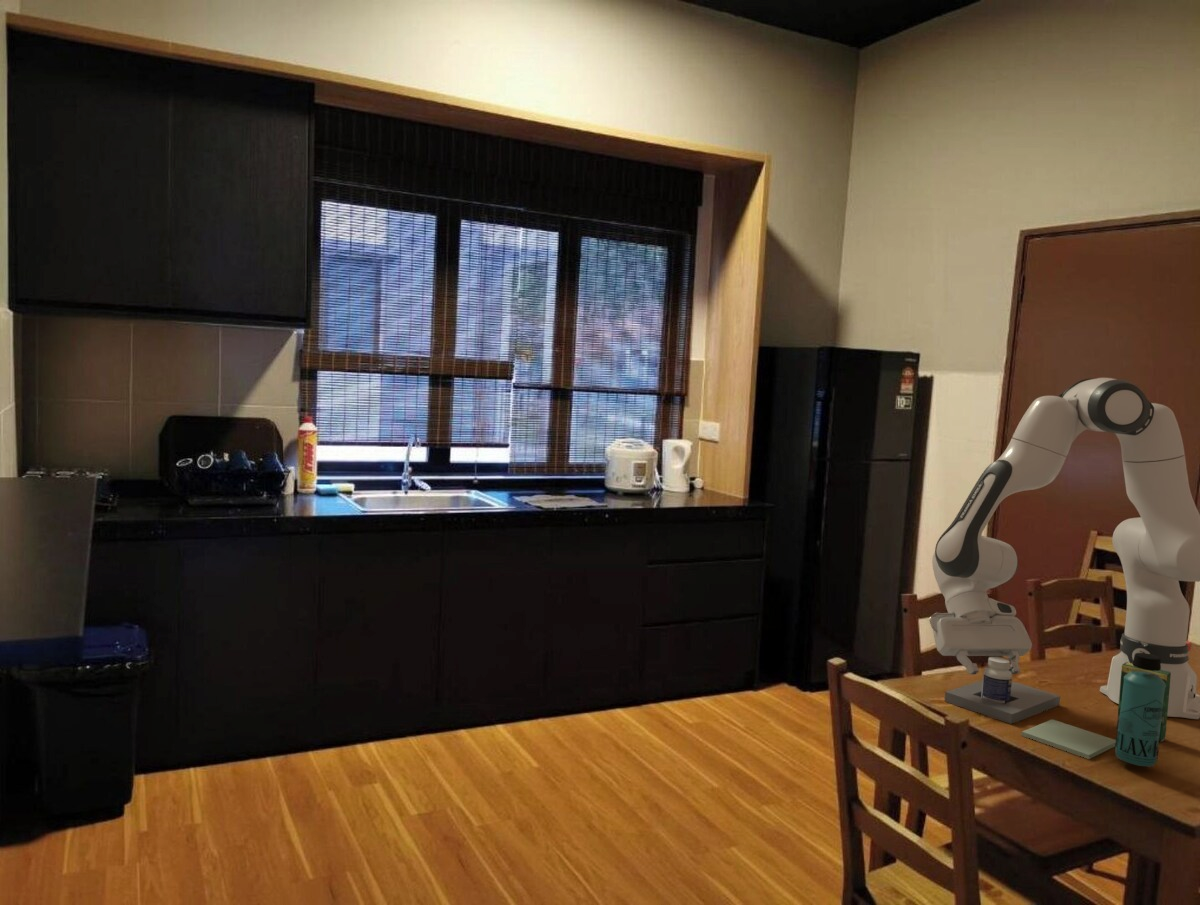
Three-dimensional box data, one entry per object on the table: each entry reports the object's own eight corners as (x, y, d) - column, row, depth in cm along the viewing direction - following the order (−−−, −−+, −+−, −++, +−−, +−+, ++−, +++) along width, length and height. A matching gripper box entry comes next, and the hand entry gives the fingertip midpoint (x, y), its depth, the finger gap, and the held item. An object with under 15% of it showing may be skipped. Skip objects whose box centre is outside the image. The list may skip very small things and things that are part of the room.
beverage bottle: (1104, 761, 157) (1116, 650, 155) (1130, 757, 159) (1142, 647, 158) (1139, 777, 151) (1152, 662, 149) (1165, 772, 153) (1178, 659, 152)
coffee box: (1113, 729, 173) (1120, 663, 172) (1118, 725, 175) (1125, 660, 174) (1161, 743, 167) (1168, 674, 166) (1165, 739, 169) (1173, 671, 168)
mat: (1051, 723, 174) (1052, 719, 174) (1117, 745, 165) (1117, 740, 165) (1021, 735, 167) (1021, 731, 167) (1088, 759, 157) (1089, 755, 157)
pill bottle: (1012, 712, 179) (1016, 665, 178) (983, 709, 180) (988, 662, 179) (1005, 703, 184) (1010, 657, 183) (978, 699, 185) (982, 654, 184)
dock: (994, 684, 196) (995, 675, 195) (1059, 705, 185) (1060, 695, 184) (944, 701, 183) (945, 691, 183) (1011, 724, 172) (1012, 714, 172)
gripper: (933, 605, 187) (955, 666, 178) (1021, 606, 190) (1047, 666, 182) (920, 620, 192) (941, 680, 183) (1006, 621, 195) (1030, 680, 186)
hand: (994, 673), depth 182 cm, fingers open, 8 cm apart
